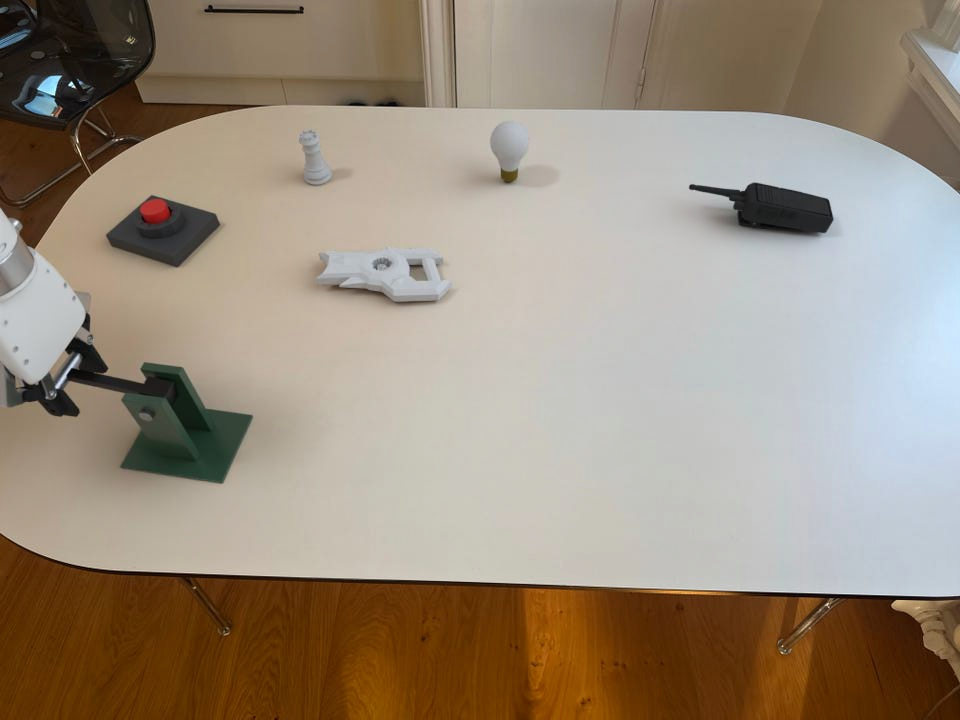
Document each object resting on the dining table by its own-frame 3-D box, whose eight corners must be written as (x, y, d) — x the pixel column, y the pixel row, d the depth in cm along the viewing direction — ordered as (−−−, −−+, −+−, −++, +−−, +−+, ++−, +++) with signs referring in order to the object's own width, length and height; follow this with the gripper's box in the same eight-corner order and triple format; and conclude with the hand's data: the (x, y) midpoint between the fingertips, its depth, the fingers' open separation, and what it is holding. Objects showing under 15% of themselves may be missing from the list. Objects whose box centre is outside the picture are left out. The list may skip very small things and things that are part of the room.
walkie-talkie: (832, 236, 98) (689, 212, 99) (814, 239, 104) (680, 216, 105) (842, 191, 97) (698, 168, 98) (824, 197, 103) (688, 175, 104)
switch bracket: (124, 472, 79) (75, 411, 70) (160, 407, 84) (119, 343, 75) (225, 487, 77) (188, 427, 68) (255, 420, 83) (225, 356, 74)
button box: (111, 246, 103) (99, 225, 100) (156, 206, 109) (146, 184, 106) (177, 267, 100) (167, 246, 97) (220, 225, 105) (212, 203, 102)
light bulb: (510, 164, 114) (511, 108, 106) (535, 181, 111) (538, 125, 103) (482, 179, 111) (481, 122, 104) (507, 197, 108) (508, 140, 101)
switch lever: (49, 397, 73) (41, 384, 71) (75, 360, 76) (67, 346, 74) (163, 422, 72) (158, 409, 70) (185, 384, 75) (180, 371, 74)
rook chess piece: (299, 183, 112) (287, 139, 105) (312, 167, 114) (301, 123, 108) (324, 188, 111) (314, 144, 104) (337, 172, 113) (328, 128, 107)
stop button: (139, 221, 101) (134, 211, 100) (156, 206, 103) (151, 196, 102) (159, 227, 100) (154, 217, 99) (175, 212, 102) (171, 202, 101)
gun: (312, 291, 91) (317, 241, 97) (316, 310, 93) (321, 259, 100) (453, 287, 92) (449, 238, 99) (453, 306, 95) (449, 256, 101)
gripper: (3, 201, 67) (90, 328, 81) (-123, 333, 57) (2, 453, 71) (74, 208, 66) (150, 335, 80) (-41, 344, 56) (70, 464, 70)
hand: (80, 390), depth 75 cm, fingers closed on switch lever, 5 cm apart
